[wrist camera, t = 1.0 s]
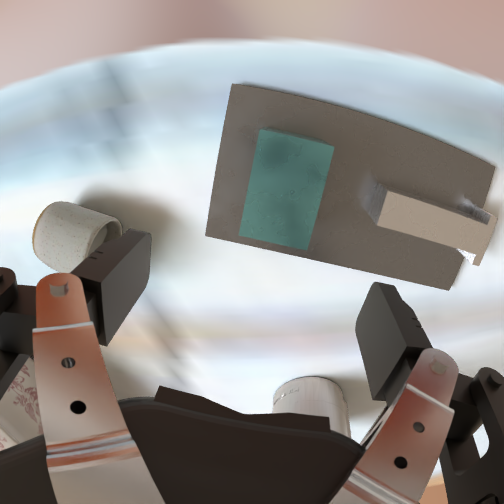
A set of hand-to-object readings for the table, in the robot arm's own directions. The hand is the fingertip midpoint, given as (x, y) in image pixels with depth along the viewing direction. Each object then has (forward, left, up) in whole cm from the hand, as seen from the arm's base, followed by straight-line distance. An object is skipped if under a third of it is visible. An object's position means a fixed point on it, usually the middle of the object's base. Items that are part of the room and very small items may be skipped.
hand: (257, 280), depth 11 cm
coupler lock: (0, -1, -18) cm, 18 cm away
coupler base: (-6, -4, -19) cm, 20 cm away
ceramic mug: (+10, +18, -19) cm, 28 cm away
